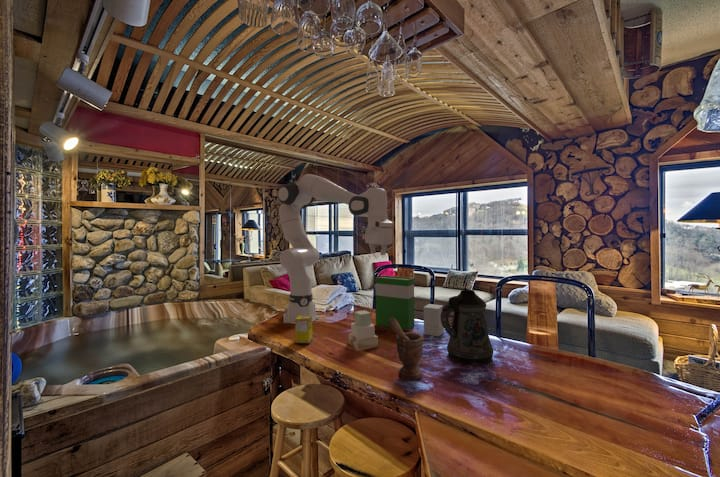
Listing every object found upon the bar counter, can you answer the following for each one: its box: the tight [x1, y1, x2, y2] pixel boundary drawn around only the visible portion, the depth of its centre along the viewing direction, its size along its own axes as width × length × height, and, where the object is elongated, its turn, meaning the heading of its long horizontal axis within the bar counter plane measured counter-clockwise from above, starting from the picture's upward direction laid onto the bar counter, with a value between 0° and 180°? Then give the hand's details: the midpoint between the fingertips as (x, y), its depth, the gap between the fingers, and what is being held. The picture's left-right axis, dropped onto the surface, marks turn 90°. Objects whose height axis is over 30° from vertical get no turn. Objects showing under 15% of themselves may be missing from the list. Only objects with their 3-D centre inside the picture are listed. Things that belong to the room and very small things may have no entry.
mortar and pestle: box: [388, 317, 424, 381], centre depth 103 cm, size 12×9×20 cm
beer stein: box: [440, 289, 494, 366], centre depth 118 cm, size 16×19×25 cm
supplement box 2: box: [422, 303, 445, 337], centre depth 146 cm, size 7×7×13 cm
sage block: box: [353, 309, 372, 327], centre depth 132 cm, size 5×5×5 cm
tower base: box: [348, 332, 379, 351], centre depth 132 cm, size 9×9×4 cm
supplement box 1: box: [294, 315, 313, 345], centre depth 136 cm, size 6×6×11 cm
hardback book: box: [375, 274, 415, 331], centre depth 158 cm, size 18×7×24 cm, turn 59°
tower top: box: [350, 322, 376, 339], centre depth 132 cm, size 8×8×4 cm
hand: (377, 254), depth 143 cm, fingers open, 8 cm apart
